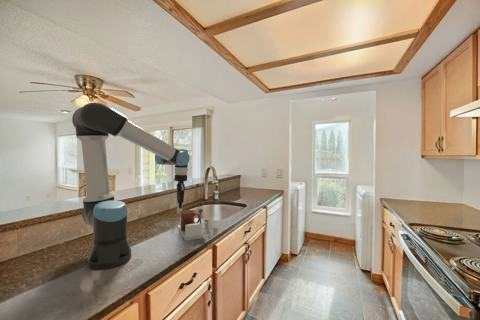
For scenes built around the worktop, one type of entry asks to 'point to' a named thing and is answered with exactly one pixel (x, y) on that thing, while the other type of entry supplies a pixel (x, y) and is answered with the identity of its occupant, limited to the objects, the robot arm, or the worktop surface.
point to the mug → (188, 218)
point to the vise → (192, 230)
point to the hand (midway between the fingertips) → (179, 213)
